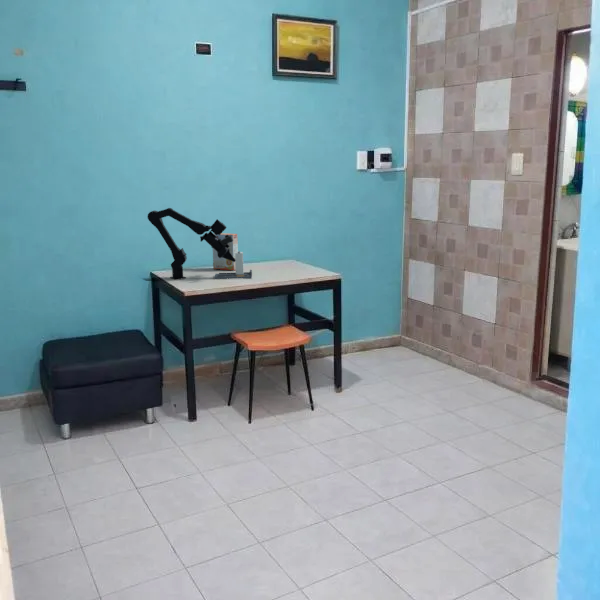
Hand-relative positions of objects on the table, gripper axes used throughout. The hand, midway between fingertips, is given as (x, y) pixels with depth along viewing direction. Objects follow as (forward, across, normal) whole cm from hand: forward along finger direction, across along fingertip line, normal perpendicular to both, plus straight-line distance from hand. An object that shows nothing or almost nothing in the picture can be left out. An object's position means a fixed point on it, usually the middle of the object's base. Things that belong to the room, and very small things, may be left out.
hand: (235, 261), depth 351 cm
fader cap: (+7, 0, +4) cm, 8 cm away
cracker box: (+2, +26, +11) cm, 28 cm away
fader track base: (+5, 0, +7) cm, 9 cm away
